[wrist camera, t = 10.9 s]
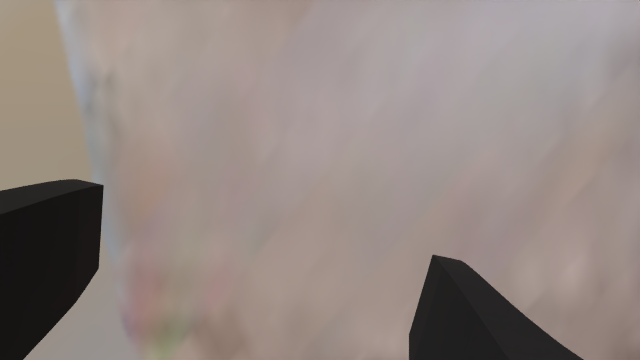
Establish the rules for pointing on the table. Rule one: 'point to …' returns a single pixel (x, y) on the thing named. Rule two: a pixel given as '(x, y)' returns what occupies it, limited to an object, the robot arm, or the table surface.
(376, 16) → the table surface
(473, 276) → the robot arm
